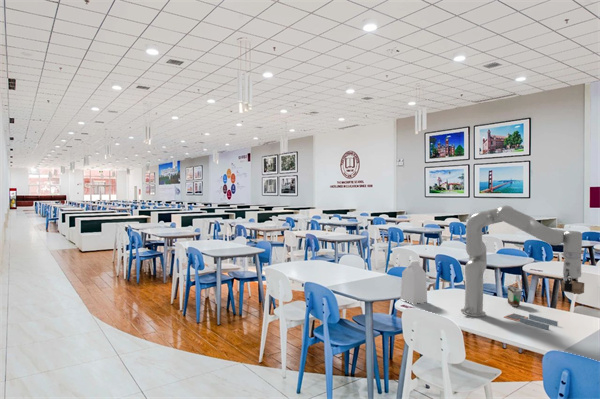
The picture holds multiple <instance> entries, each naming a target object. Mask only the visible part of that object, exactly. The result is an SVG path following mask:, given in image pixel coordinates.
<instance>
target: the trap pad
mask: <svg viewBox="0 0 600 399" xmlns="http://www.w3.org/2000/svg"><path fill="white" fill-rule="evenodd" d="M520 317H522V318H526V319H529V316H525V315H521V314H517V313H514V312H513V313H511V314H508V315H505V316H503V318H504V319H508V320H510V321H511V320H512V321H515V322H520Z"/></svg>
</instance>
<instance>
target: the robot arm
mask: <svg viewBox="0 0 600 399" xmlns="http://www.w3.org/2000/svg"><path fill="white" fill-rule="evenodd" d="M502 222H504V223H506V224H508V225H510V226H513V227H515V228H517V229H519V230H521V231H523V232H524V233H526V234H529V235H531V236H532V237H534V238H536V239H537V240H540V241H542V242H545V243H547V244H549V245H551V246H558V245H561V244H563V251H562V252H563V254H562V256H563V270H562V276H563V281H564V280H565V281H564V283H565V284H564V290H565V291H569V292H568V293H570V292H572V284H571V283H572V281H576V282H579V278H581V277H582V251H583V250H582V248H583V246H582V245H583V243H582V242H583V233H582V232H581V231H577V230H563V229H555V228H551V227H549V226H547V225H544V224H542V222H541V223H540V222H539V221H538V220H536V219H535V217H532V216H530V215H528V214H525V213H524V212H521V211H519V210H517V209H515V208H513V207H512V206H511V205H502V206H500V207H496V208H495V207H494V208H491V209H487V210H484V211H479V212H476V213H475V214H472V215H471V216H470V217H469V218H468V219H467V222H466V226H465V250H466V251H465V252H466V254H467V255H468V256H469V260H468V261H467V262H466V264H465V266H464V276H465V279H464V280H465V281H464V284H465V285H464V286H465V287H464V288H465V289H464V290H465V291H464V307H463V308H461V309H460V312H461V313H462V314H463V315H466V316H470V317H477V318H478V317H479V318H483V317H485V316H486V312H485V311H484V310H483V309H484V308H483V307H484V306H483V305H484V273H485V271H486V269H487V265H488V264H487V245H486V243H485V242H484V241H483V232H482V231H483V228H484V227H487V226H490V225H494V224H497V223H498V224H499V223H502ZM569 280H570V281H569ZM565 291H564V292H565Z"/></svg>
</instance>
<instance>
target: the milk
mask: <svg viewBox="0 0 600 399" xmlns="http://www.w3.org/2000/svg"><path fill="white" fill-rule="evenodd" d="M427 285H428V283H427V272H426V271H425V270H424V268H422V266H421V265H420V262H419V260H411V261H409V264H408V266H407V267H406V268H404V269H403V270H402V272H401V286H400V300H399V301H401V299H403V300H405V301H408V302H410V303H413V304H416V305H418V304H417V303H421V304H425V303H424V302H427V303H428V288H427Z"/></svg>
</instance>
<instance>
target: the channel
mask: <svg viewBox="0 0 600 399" xmlns="http://www.w3.org/2000/svg"><path fill="white" fill-rule="evenodd" d="M558 322H559V321H557V320H554V319H552V318H551V319H550V318H547V317H543V316H539V315H535V314H531V313H529V314H528V318H522V317H520V321H519V323H522V324H525V325H529V326H533V327H536V328H540V329H544V330H547V331H548V330H549V329H550V326H551V325H552V326H554V327H558Z"/></svg>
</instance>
